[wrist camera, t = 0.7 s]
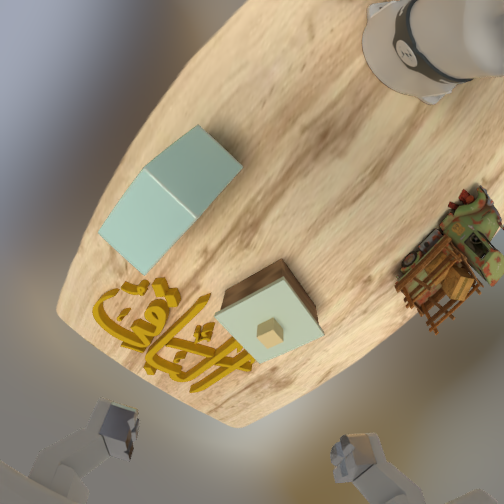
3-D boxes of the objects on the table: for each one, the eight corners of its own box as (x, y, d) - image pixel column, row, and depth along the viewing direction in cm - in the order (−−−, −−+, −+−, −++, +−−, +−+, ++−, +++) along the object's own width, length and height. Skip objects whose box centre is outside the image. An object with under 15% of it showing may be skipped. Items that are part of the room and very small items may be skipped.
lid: (283, 276, 43) (284, 291, 39) (323, 331, 47) (326, 347, 44) (215, 312, 47) (210, 328, 43) (260, 359, 51) (258, 376, 47)
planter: (207, 198, 50) (132, 288, 39) (175, 168, 48) (93, 252, 37) (263, 146, 37) (166, 258, 26) (221, 107, 35) (105, 202, 24)
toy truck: (492, 213, 42) (539, 245, 28) (411, 298, 51) (440, 349, 38) (471, 174, 39) (524, 200, 26) (382, 268, 49) (411, 320, 36)
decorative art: (81, 322, 58) (144, 242, 47) (87, 315, 61) (150, 235, 50) (189, 402, 67) (278, 355, 56) (192, 394, 70) (278, 345, 59)
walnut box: (281, 258, 49) (282, 280, 43) (315, 306, 53) (319, 330, 47) (225, 290, 53) (219, 313, 47) (262, 332, 57) (260, 357, 51)
